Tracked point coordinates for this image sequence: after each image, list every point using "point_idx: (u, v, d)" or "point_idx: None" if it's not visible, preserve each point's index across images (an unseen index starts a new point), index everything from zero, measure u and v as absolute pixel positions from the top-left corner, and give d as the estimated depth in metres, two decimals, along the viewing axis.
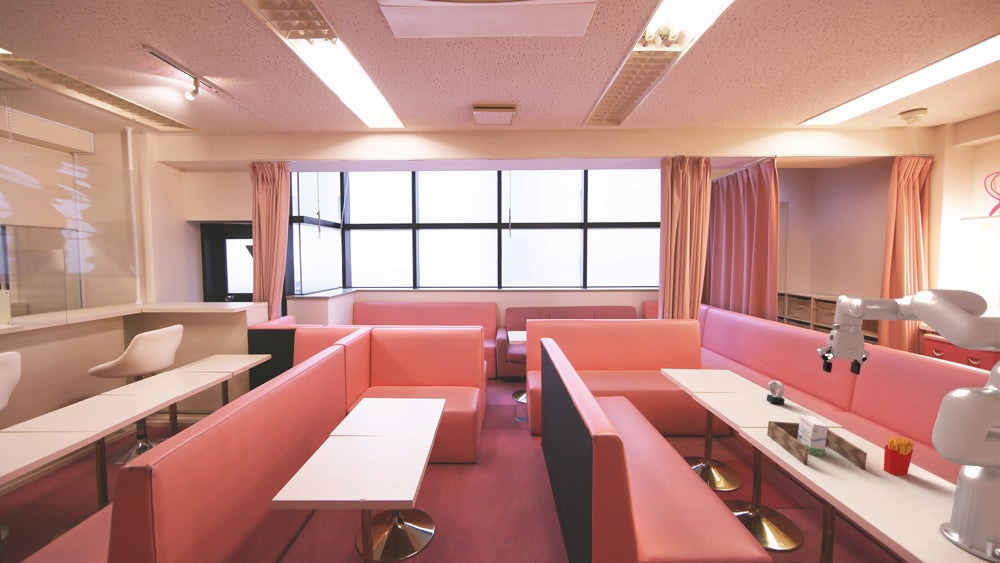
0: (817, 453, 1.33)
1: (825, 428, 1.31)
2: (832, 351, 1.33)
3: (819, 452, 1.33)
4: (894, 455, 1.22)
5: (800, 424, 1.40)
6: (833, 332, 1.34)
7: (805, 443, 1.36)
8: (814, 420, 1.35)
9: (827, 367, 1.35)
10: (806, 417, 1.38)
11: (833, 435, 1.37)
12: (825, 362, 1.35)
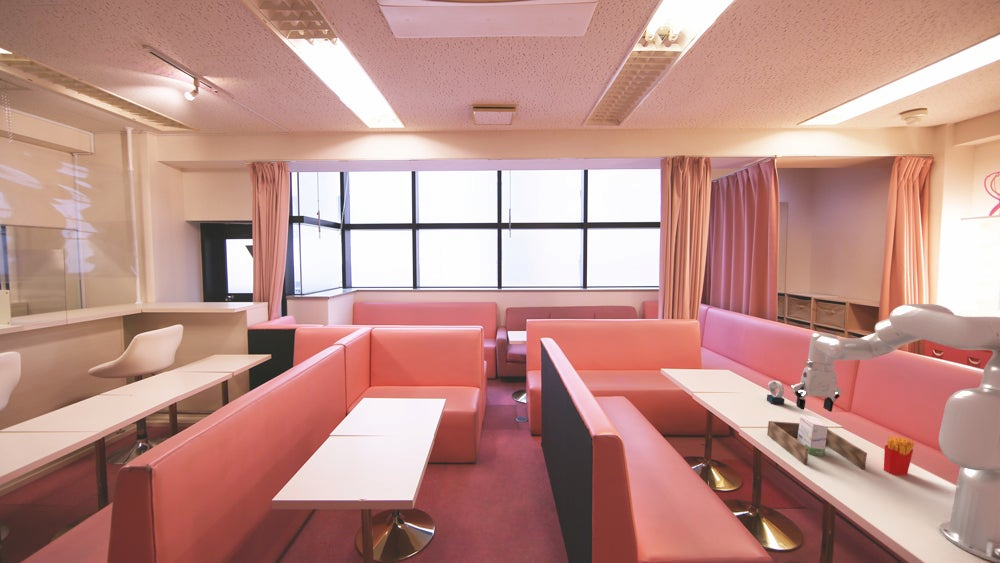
0: (817, 453, 1.33)
1: (825, 428, 1.31)
2: (805, 388, 1.34)
3: (819, 452, 1.33)
4: (894, 455, 1.22)
5: (800, 424, 1.40)
6: (806, 369, 1.34)
7: (805, 443, 1.36)
8: (814, 420, 1.35)
9: (800, 404, 1.35)
10: (806, 417, 1.38)
11: (833, 435, 1.37)
12: (799, 399, 1.36)
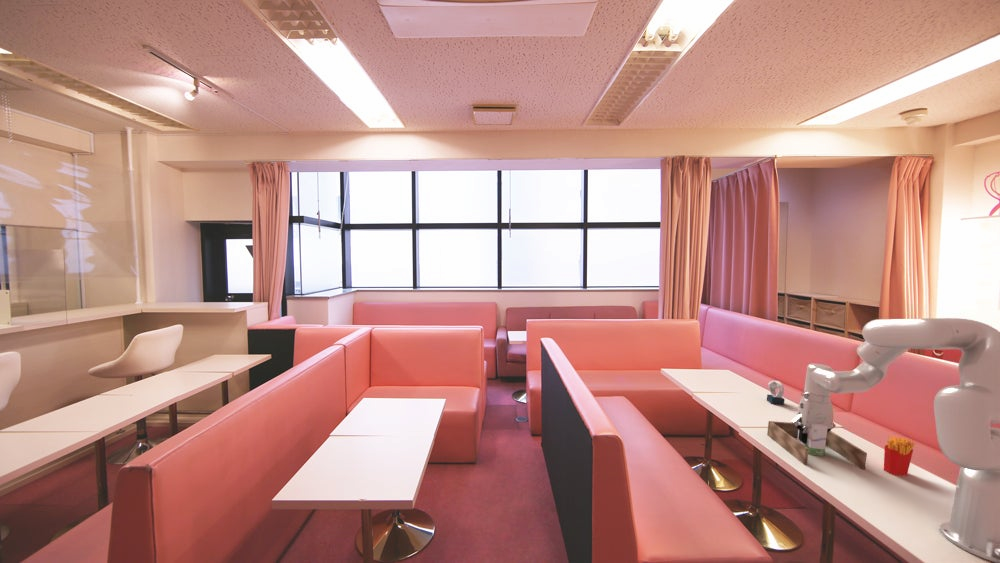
0: (817, 453, 1.33)
1: (825, 428, 1.31)
2: (802, 420, 1.35)
3: (819, 452, 1.33)
4: (894, 455, 1.22)
5: None
6: (803, 400, 1.35)
7: None
8: None
9: (802, 438, 1.36)
10: None
11: (833, 435, 1.37)
12: (801, 432, 1.36)
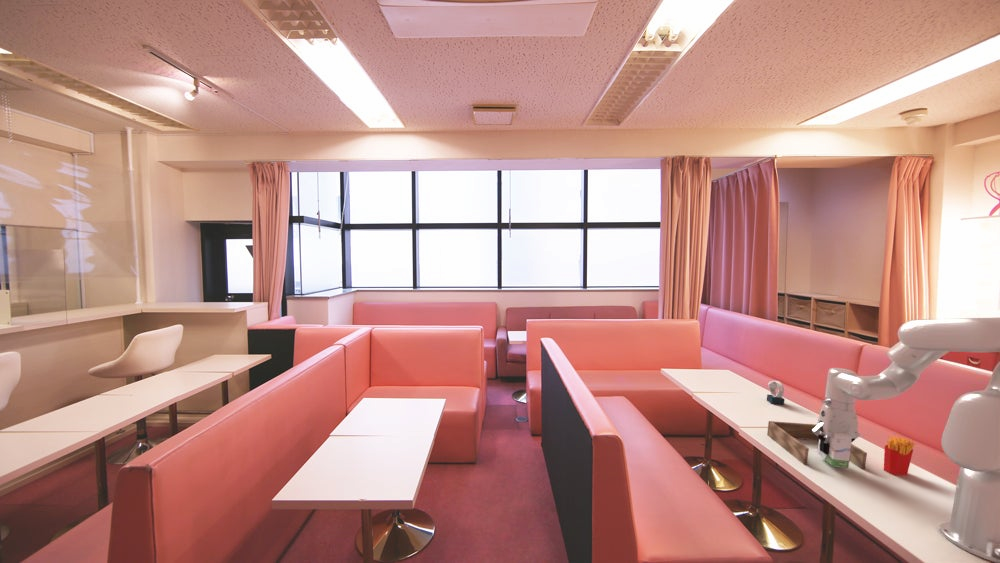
0: (841, 465, 1.23)
1: (849, 438, 1.22)
2: (824, 429, 1.25)
3: (843, 464, 1.23)
4: (894, 455, 1.22)
5: None
6: (824, 408, 1.26)
7: None
8: None
9: (824, 448, 1.26)
10: None
11: None
12: (822, 442, 1.26)
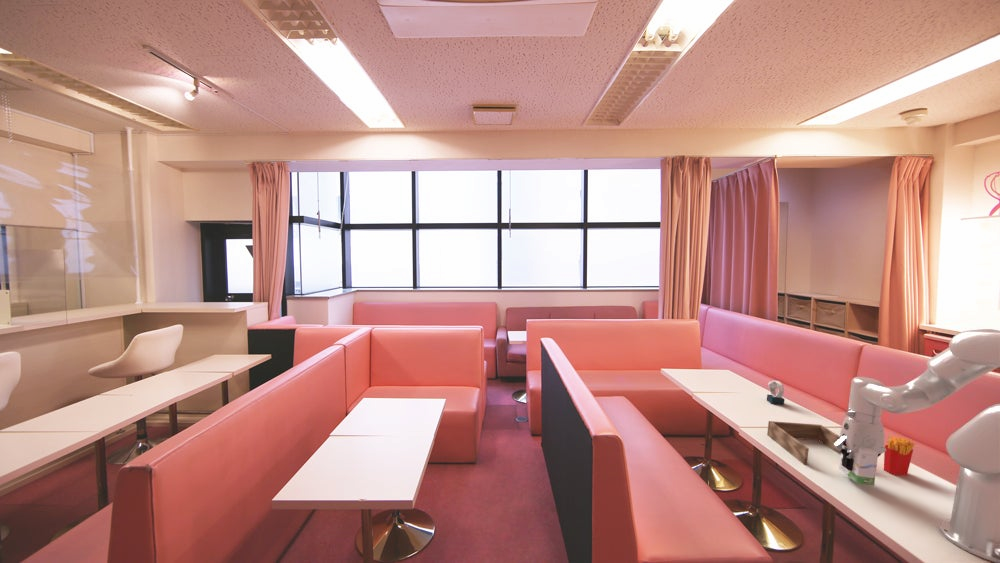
0: (866, 482, 1.14)
1: (875, 453, 1.12)
2: (847, 443, 1.15)
3: (868, 481, 1.13)
4: (894, 455, 1.22)
5: None
6: (848, 420, 1.16)
7: None
8: None
9: (847, 464, 1.17)
10: None
11: (833, 435, 1.37)
12: (845, 457, 1.17)
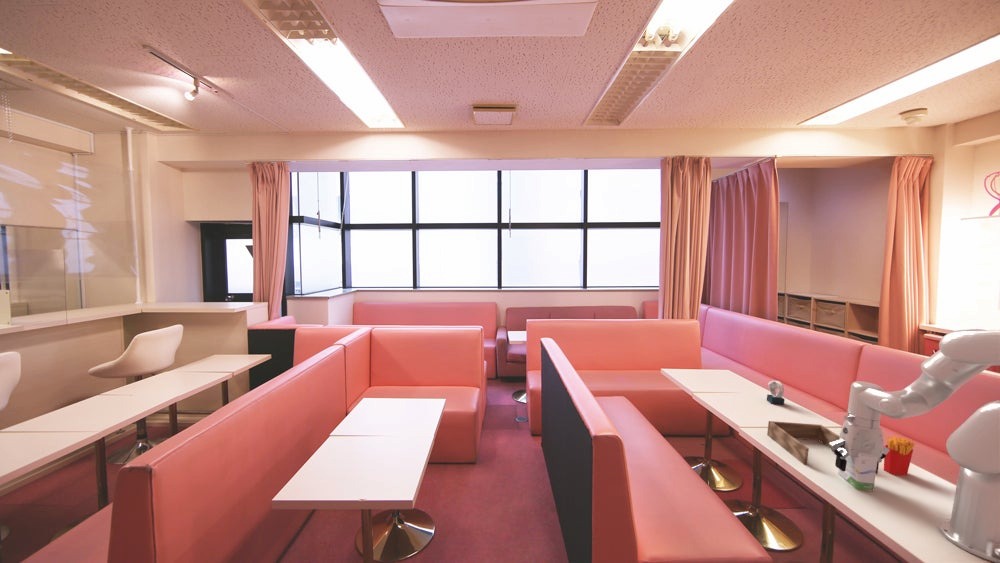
0: (865, 488, 1.14)
1: (875, 459, 1.12)
2: (846, 447, 1.16)
3: (867, 486, 1.14)
4: (894, 455, 1.22)
5: (842, 452, 1.21)
6: (847, 424, 1.16)
7: (850, 475, 1.17)
8: None
9: (841, 464, 1.17)
10: None
11: (833, 435, 1.37)
12: (839, 458, 1.18)
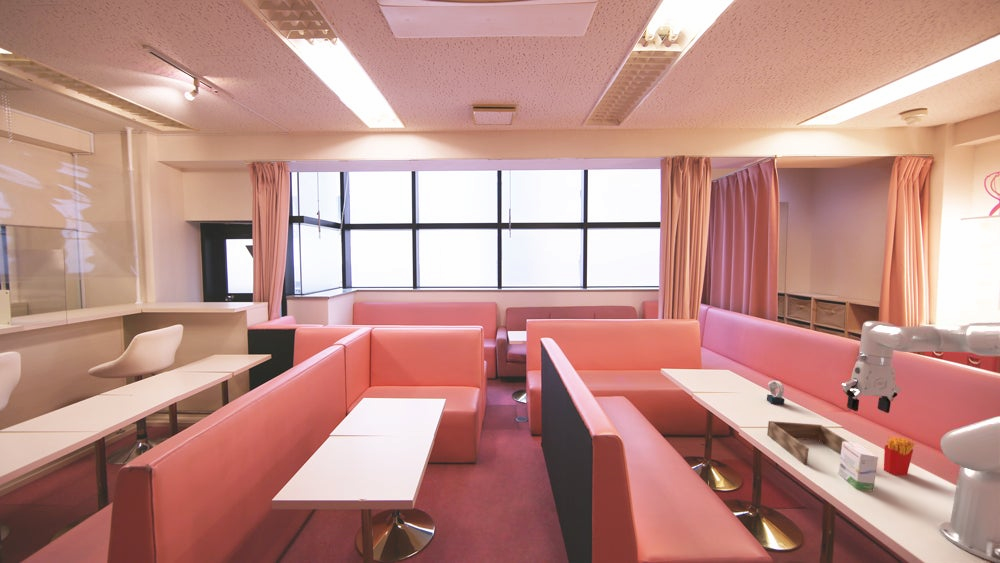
0: (865, 488, 1.14)
1: (875, 459, 1.12)
2: (859, 386, 1.15)
3: (867, 486, 1.14)
4: (894, 455, 1.22)
5: (842, 452, 1.21)
6: (859, 364, 1.16)
7: (850, 475, 1.17)
8: (860, 449, 1.16)
9: (853, 405, 1.17)
10: (850, 444, 1.19)
11: (833, 435, 1.37)
12: (851, 398, 1.17)
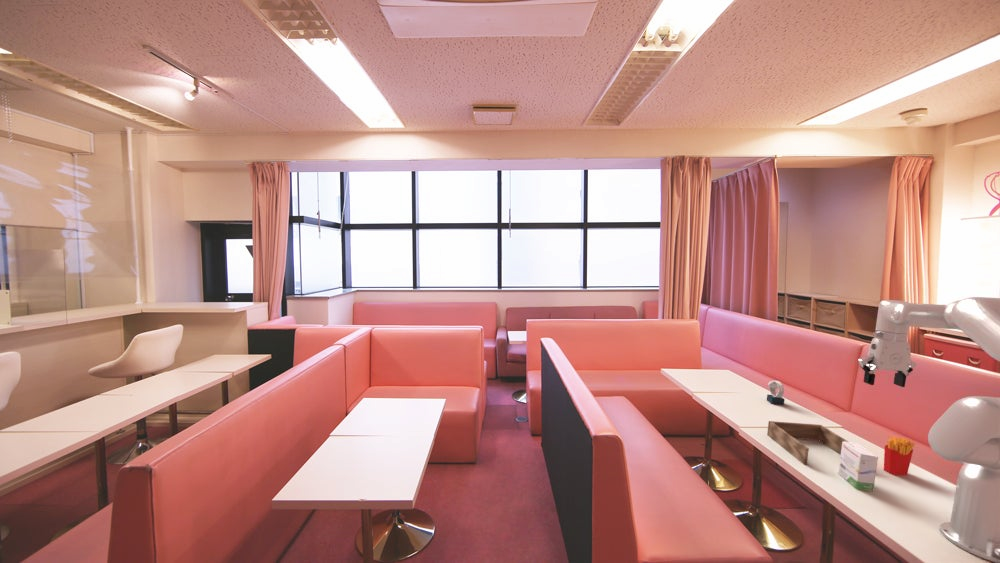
0: (865, 488, 1.14)
1: (875, 459, 1.12)
2: (875, 361, 1.22)
3: (867, 486, 1.14)
4: (894, 455, 1.22)
5: (842, 452, 1.21)
6: (875, 340, 1.23)
7: (850, 475, 1.17)
8: (860, 449, 1.16)
9: (869, 379, 1.23)
10: (850, 444, 1.19)
11: (833, 435, 1.37)
12: (867, 373, 1.24)
